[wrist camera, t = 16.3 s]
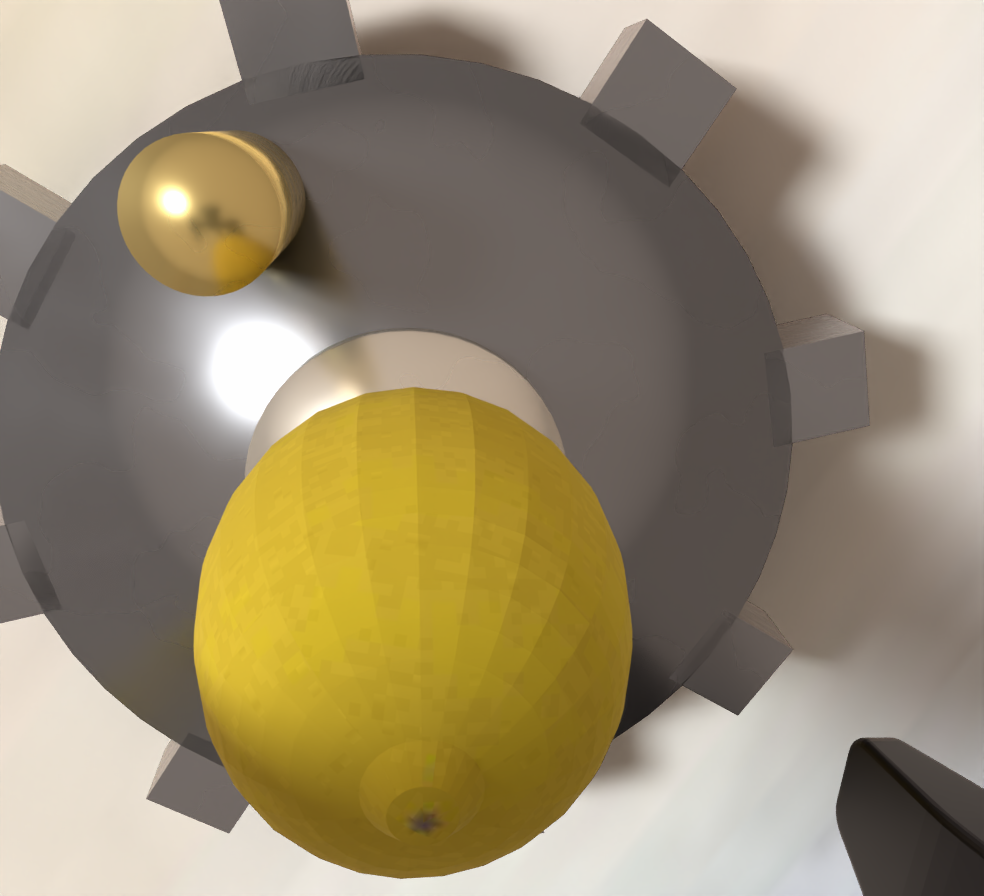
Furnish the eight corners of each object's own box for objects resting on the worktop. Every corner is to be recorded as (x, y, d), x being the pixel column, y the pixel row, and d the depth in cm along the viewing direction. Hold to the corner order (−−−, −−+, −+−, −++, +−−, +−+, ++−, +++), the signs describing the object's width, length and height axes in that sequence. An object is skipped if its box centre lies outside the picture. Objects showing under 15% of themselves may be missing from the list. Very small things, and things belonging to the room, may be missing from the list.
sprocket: (218, -285, 13) (132, -473, 9) (1003, 319, 18) (1192, 381, 13) (-198, 591, 17) (-394, 743, 13) (524, 905, 22) (553, 1096, 17)
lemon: (234, 605, 16) (90, 1024, 9) (273, 303, 14) (134, 501, 7) (532, 644, 17) (634, 1055, 10) (604, 364, 15) (797, 599, 8)
